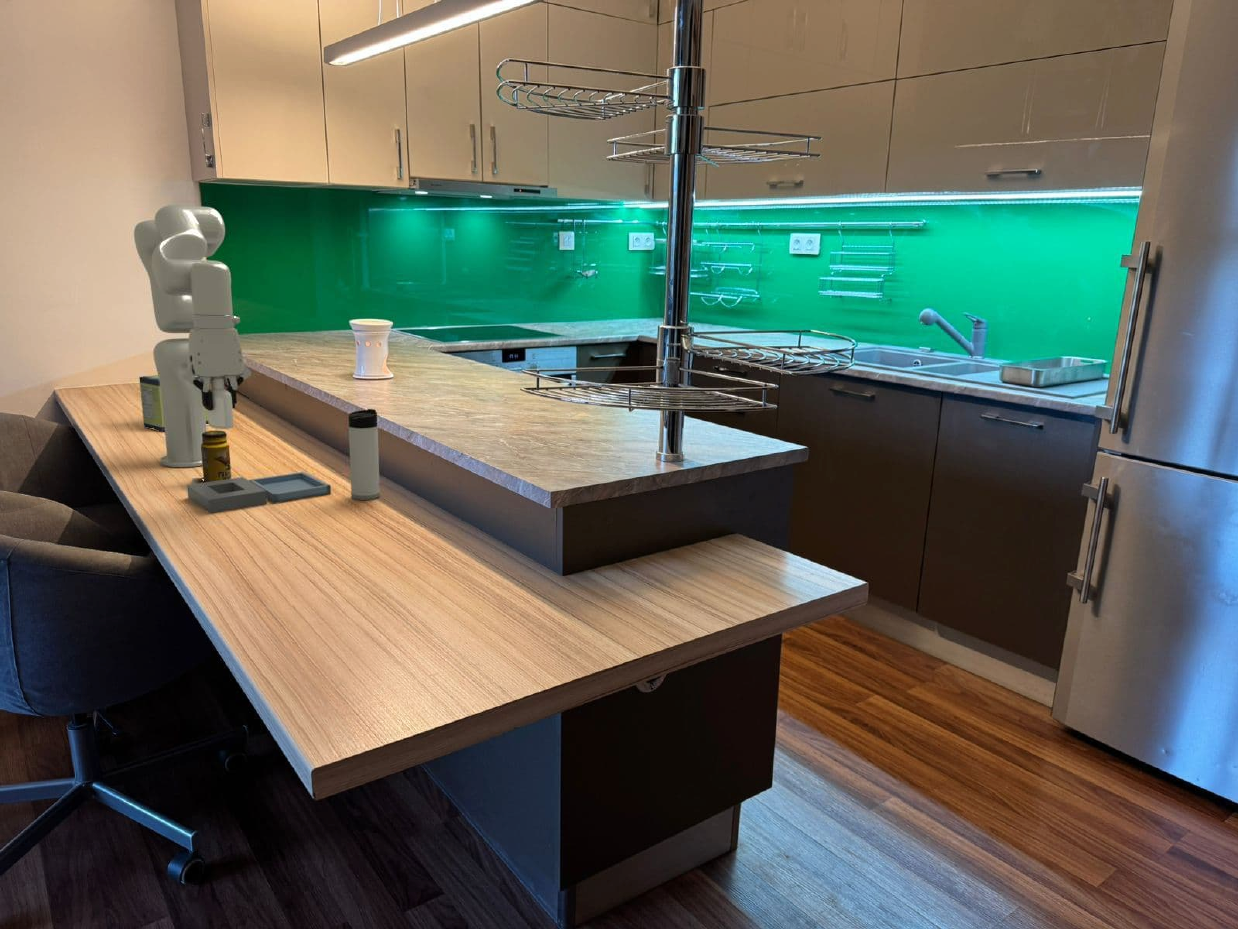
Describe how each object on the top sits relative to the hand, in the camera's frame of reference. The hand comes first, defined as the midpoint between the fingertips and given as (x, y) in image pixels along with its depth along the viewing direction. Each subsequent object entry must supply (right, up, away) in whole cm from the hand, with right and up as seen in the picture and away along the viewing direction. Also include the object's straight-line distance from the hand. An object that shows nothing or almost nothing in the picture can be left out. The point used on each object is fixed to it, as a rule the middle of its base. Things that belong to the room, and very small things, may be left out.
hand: (220, 407), depth 182 cm
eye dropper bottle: (0, -4, +1) cm, 4 cm away
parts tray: (+10, -18, +14) cm, 25 cm away
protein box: (-49, -1, +76) cm, 91 cm away
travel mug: (+28, -20, +13) cm, 36 cm away
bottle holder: (-1, -20, +5) cm, 21 cm away
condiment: (-11, -17, +20) cm, 28 cm away
